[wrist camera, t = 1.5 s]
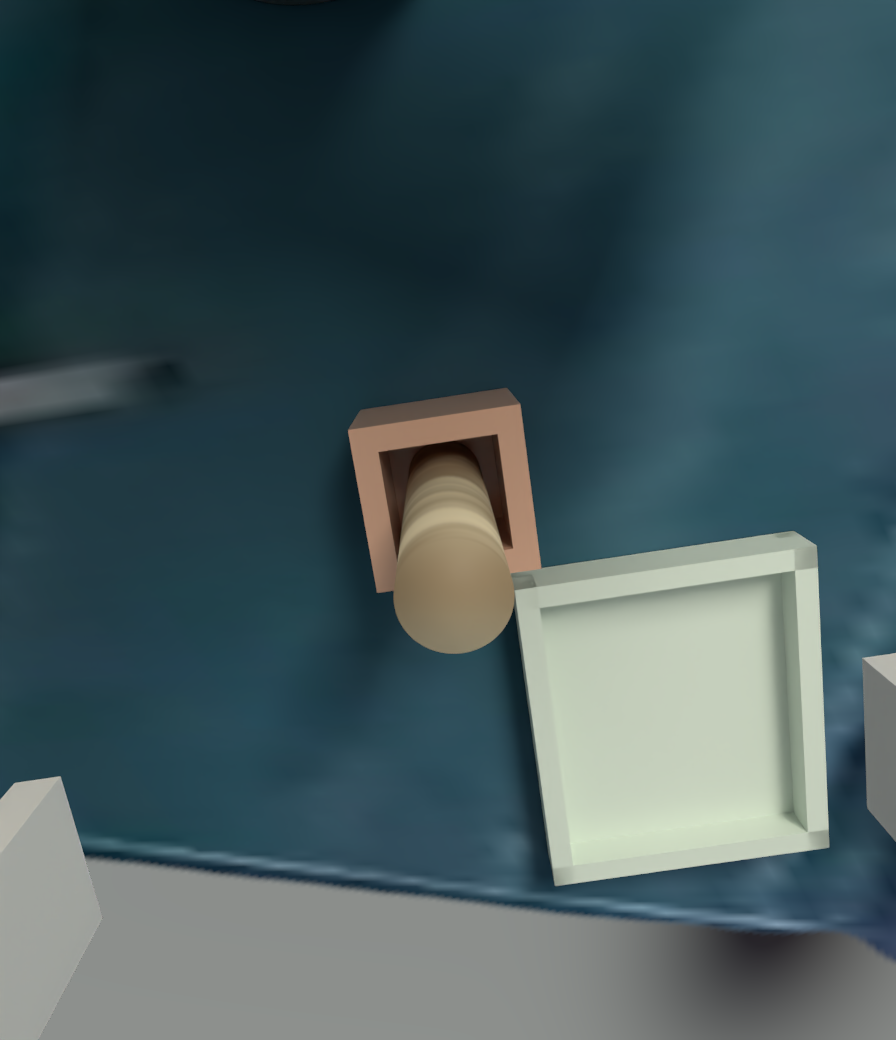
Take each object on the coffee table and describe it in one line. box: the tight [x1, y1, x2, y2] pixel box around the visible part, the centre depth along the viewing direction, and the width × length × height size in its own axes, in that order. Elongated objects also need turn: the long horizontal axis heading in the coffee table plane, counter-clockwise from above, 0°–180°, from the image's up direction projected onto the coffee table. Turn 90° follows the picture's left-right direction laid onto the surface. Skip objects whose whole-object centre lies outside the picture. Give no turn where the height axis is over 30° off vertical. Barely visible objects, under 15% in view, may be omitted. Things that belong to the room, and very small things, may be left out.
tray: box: [510, 531, 829, 886], centre depth 41 cm, size 15×13×2 cm
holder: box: [348, 388, 541, 593], centre depth 36 cm, size 7×7×6 cm
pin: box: [394, 441, 515, 654], centre depth 30 cm, size 3×3×16 cm
